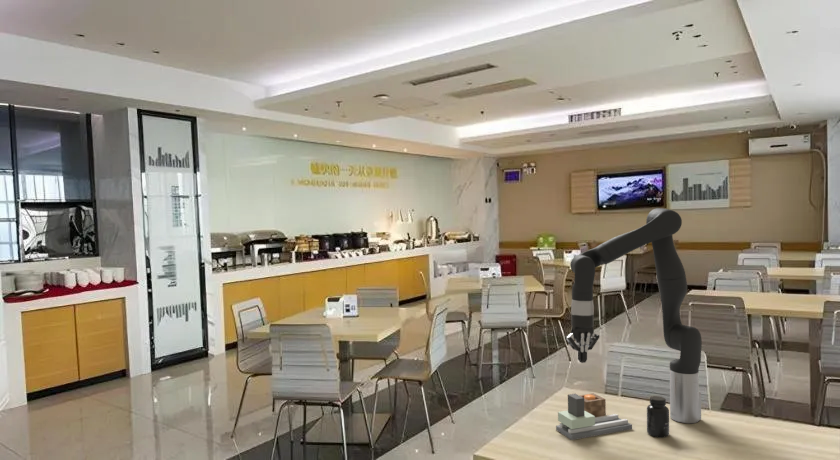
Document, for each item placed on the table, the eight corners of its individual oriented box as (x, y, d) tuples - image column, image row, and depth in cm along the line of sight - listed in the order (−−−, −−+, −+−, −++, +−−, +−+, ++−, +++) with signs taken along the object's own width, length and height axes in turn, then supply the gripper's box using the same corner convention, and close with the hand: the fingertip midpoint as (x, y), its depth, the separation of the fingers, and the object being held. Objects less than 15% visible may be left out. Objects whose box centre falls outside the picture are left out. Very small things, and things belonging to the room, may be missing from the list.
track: (614, 419, 195) (614, 412, 195) (632, 429, 186) (632, 421, 186) (556, 429, 187) (556, 422, 187) (571, 440, 178) (571, 431, 178)
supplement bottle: (671, 438, 178) (671, 402, 177) (649, 437, 179) (648, 401, 179) (666, 430, 184) (666, 395, 184) (645, 429, 186) (644, 394, 185)
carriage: (580, 416, 189) (580, 391, 189) (595, 425, 182) (594, 398, 182) (558, 420, 186) (557, 394, 186) (571, 429, 179) (571, 401, 179)
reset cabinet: (593, 413, 201) (593, 393, 201) (605, 420, 195) (605, 399, 194) (573, 416, 198) (573, 396, 198) (585, 423, 192) (585, 402, 192)
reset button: (591, 404, 199) (591, 393, 199) (597, 408, 195) (597, 397, 195) (582, 406, 198) (582, 395, 198) (588, 409, 194) (588, 398, 194)
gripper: (592, 309, 197) (592, 357, 197) (559, 312, 193) (559, 361, 193) (605, 313, 189) (605, 363, 190) (572, 315, 185) (572, 366, 186)
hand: (582, 362), depth 191 cm, fingers closed
